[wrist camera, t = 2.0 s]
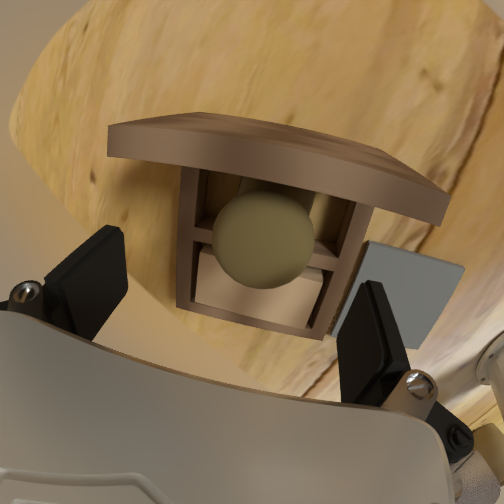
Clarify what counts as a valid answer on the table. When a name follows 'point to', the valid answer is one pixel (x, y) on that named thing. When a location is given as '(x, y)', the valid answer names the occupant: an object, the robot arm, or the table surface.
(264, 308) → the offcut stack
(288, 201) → the olive pawn
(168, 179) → the table surface
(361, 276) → the slate mat
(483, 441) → the plant pot
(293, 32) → the table surface
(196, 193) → the open walnut box
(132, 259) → the table surface
